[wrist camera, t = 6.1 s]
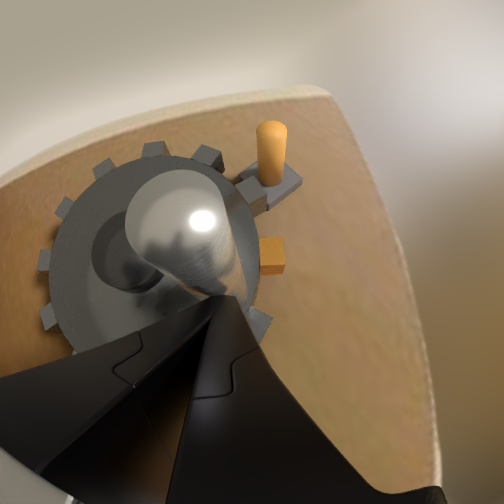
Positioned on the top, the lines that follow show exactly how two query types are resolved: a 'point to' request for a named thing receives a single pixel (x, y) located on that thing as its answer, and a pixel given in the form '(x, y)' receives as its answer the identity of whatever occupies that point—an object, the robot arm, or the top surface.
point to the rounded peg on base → (272, 164)
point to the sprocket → (155, 247)
